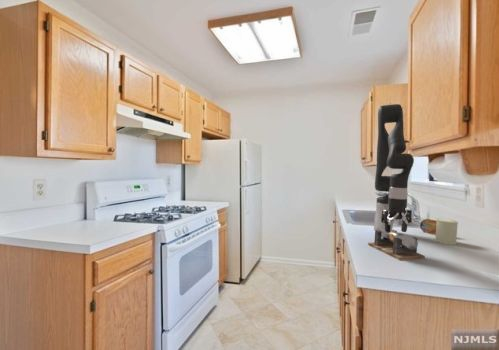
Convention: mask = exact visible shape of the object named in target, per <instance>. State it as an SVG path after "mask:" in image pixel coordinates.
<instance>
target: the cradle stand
mask: <svg viewBox="0 0 499 350" xmlns="http://www.w3.org/2000/svg"><path fill="white" fill-rule="evenodd" d="M392 231H395V232H398V230H395V229H392ZM381 234H382V231H379V230H376V231H375V230H374V242H367V245H368V246H369V247H371V248H373V249H375V250H378V251H379V252H382V253H383V254H385V255H387V256H390V257H392V258H394V259H396V260H398V261H402V260H403V261H404V260H421V259H425V258H426V255H424V254H421V253H419V252H418V247H417V248H416V249H414V250H410V249H408V248H405V247H403V246H401V239H400V238H393V242H391V241H388V240H386V239H384V238H381ZM411 237H412V238H414V239H416V240H417V241H418V237H415V236H411Z"/></svg>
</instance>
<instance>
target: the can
mask: <svg viewBox="0 0 499 350" xmlns="http://www.w3.org/2000/svg"><path fill="white" fill-rule="evenodd" d="M435 220H436V221H437V222H436V235H435V238H434V240H435V242H438V243H441V244H446V245H457V236H458V223H459V222H458V221H457V220H453V219H449V218H436V219H435Z"/></svg>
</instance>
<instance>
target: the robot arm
mask: <svg viewBox="0 0 499 350" xmlns="http://www.w3.org/2000/svg"><path fill="white" fill-rule="evenodd" d="M393 123H395V125H394V127H393V128H392V129H391V130H390V132H389V133H388V131H387V129H386V126H385V125H386V124H393ZM376 145H377V146H376V168H375V169H376V170H375V179H374V189H375V191H378V192H387V194H385V195H382V196H378V197H377V198H376V206H375V208H376V209H375V214H374V222H373V223H374V225H373V230H374V232H375V231H376V230H377V228H378V227H384V228H385V231H386V232H387V233H390V230H394V229H393V228H394V221H395V220H396V221H398V220H400V221H401V229H400V230H401V232H403V233H407V231H408V224H411V223H412V220H413V216H412V215H413V211H412V210H411V209H407V208H408V196H409V194H408V193H409V191H408V184H409V183H408V181H409V176H410V173H411V170H412V168H413V166H414V163H415V162H414V161H415V159H414V156H413V155H412V154H411V153H405V152H406V150H407V145H406V139H405V134H404V111H403V107H402V104H400V103H399V104H398V103H396V104H386V105H385V104H383V105H380V106H379V108H378V110H377V144H376ZM387 167H388V168H390V169H392V170H402V171H401V172H399V173H394V174H391V175H383V173H384V171H385V170H386V168H387Z"/></svg>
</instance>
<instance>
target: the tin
mask: <svg viewBox="0 0 499 350" xmlns="http://www.w3.org/2000/svg"><path fill="white" fill-rule="evenodd" d="M436 222H437V220H436V219H428V218H426V219H422V220H421V221H420V223H419V226H420V227H419V228H420V230H421V231H422V232H423V233H426V234H429V235H434V236H436Z"/></svg>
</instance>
